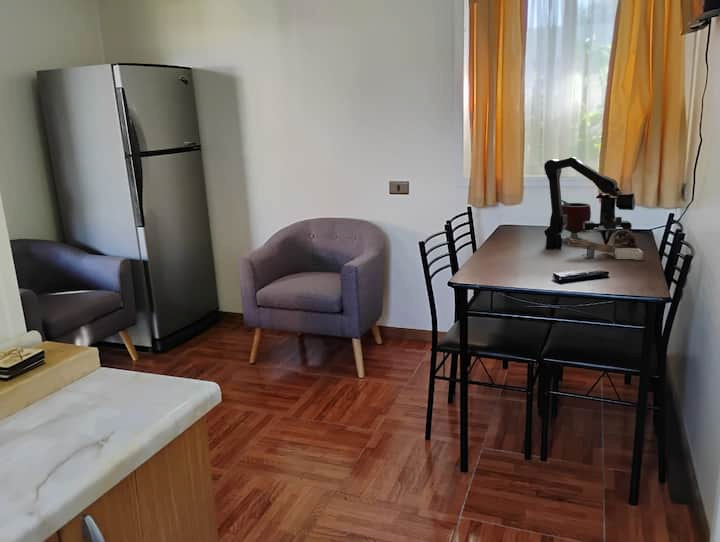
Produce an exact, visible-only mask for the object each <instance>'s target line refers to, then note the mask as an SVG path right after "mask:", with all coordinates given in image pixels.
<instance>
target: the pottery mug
mask: <svg viewBox="0 0 720 542" xmlns="http://www.w3.org/2000/svg"><path fill="white" fill-rule="evenodd" d="M612 244H613V245H612V246H614V245H615V246H616V245H621V244H627V245H634V246H635V247H637V241H636V238H635V235H634V234H633V233H632V232H630V230H629V229H621V230H619V231H616V232H615V233H613V239H612Z"/></svg>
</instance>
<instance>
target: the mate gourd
mask: <svg viewBox="0 0 720 542" xmlns="http://www.w3.org/2000/svg"><path fill="white" fill-rule="evenodd" d="M561 202H562V211H563V213H564V215H566V214H567V221H568V224H567V227H566V228H565V229H564V230H565V231H567V232H569V233H570V235H569V236H561V238H562V242H564V241H566V242H565V243H568V241H569V237H570V238H571V239H573V240H579V241H587V242H588V241H589V240H588V239H589V238H586V237H583V236H579V233H580V232H583V231H585V229H584V228H583V222H584V221H591V215H592V211H591V204H589V203H586V202H585V203H583V202H567V201H565V200H563V199H561Z"/></svg>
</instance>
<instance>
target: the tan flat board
mask: <svg viewBox="0 0 720 542" xmlns="http://www.w3.org/2000/svg"><path fill="white" fill-rule="evenodd" d="M568 237H569V241H568V242H567V244H568V246H569V247H572V248H578V249H585V250H587V249H590V247H595V252H596V251H597V252H602V253H610V254H613V253H615V249H616V247H614V245H610V244H607V245H605V244H604V243H598V242H597V243H596V242H592V241H587V242H586V241H579V240H573V239H571V238H570V236H568Z"/></svg>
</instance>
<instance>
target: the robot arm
mask: <svg viewBox="0 0 720 542" xmlns="http://www.w3.org/2000/svg"><path fill="white" fill-rule="evenodd" d="M543 168H544V171H545V176H546V178H547V180H548V181H549V182H548V183H549V194H550V206H551V215H550V220H549V227H547V228H546V229H545V230H544V231H543V233H544V235H545V245H544V247H545V249H546V250H562V247H563V241H562V233H563V231H564V230H565V228H566V227H567V224H568V221H567V214H566V215H564V213H563V211H562V204H563V202H562V201H561V200H562V193H561V192H562V191H561V184H560V183H561V181H560V180H561V173H562V170H563V169H565V168H566V169H567V168H572V169H574V170H575V171H576V172H578V173H579V174H580V175H582V176H583V177H585V178H587V179H588V180H589V181H591V182H592V183H593V184H594V185H595V186H596V187H597V188H598V189H599V191H601V192H599V194H598V195H597V196H596V197H595V199H600V211H599V213H600V214H599V222H598V223H597V222H594V221H593V220H592V221H591V220H590V221H584V222H583V228H584V229H585V230H587V231H593V230H594V229H595V228H596V231H598V232H599V233H600V235H601V237H602V241H603V244H605V245H609V242H610V240H611V237H612V235H614V232H615V233H616V232H618V231H617V228H621V229H622V230H632V227H633V225H632V222H630V221H628V220H622V219H623V218H622V216H616V208H618V210H619V211H620V210H621V211H634V210H635V207H636V198H635V193H623V192H622V191H621V189H620V188H619V187H618V182H617V181H616V179H614V178H611V177H609V176H606V175H604V174H601V173H599V172H598V171H596V170H595V169H593V168H591V167H590V166H589V165H587V164H585V163H584V162H582V161H581V160H580V159H578V157H575V156H572V157H569V158H566V159H565V158H564V159H557V158H552V159H549V160H547V161H546V162H545V163H544V166H543ZM585 230H584V231H585Z"/></svg>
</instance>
